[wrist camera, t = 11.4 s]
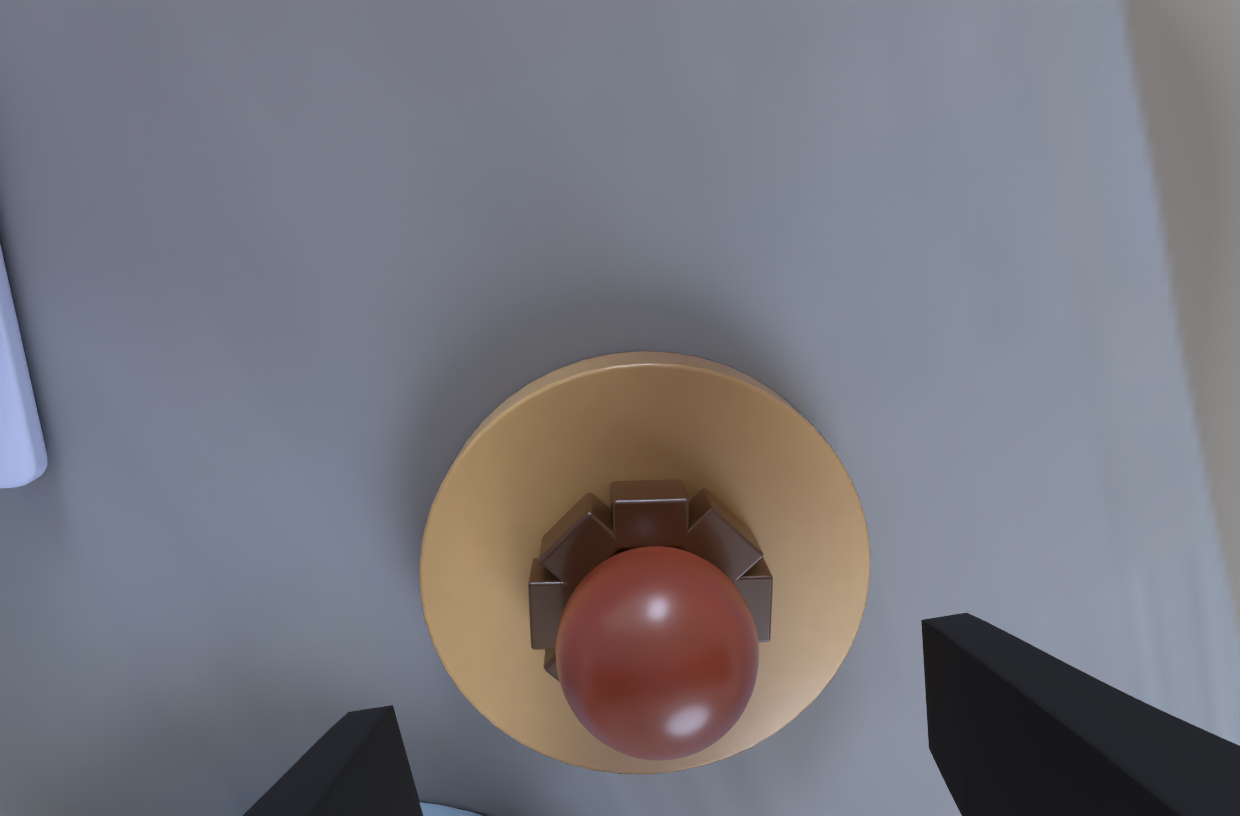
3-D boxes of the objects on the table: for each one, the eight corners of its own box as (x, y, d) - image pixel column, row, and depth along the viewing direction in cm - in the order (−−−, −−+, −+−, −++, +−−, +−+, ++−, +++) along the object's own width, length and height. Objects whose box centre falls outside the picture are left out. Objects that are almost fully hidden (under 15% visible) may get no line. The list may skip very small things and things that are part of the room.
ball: (639, 709, 14) (655, 849, 11) (521, 595, 13) (502, 709, 10) (772, 603, 13) (828, 717, 10) (657, 480, 13) (681, 562, 10)
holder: (448, 742, 16) (425, 824, 14) (414, 355, 14) (382, 380, 12) (837, 728, 16) (874, 806, 14) (864, 345, 14) (913, 369, 12)
